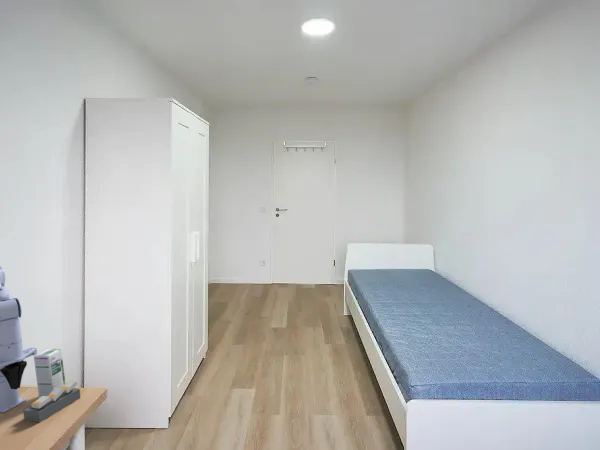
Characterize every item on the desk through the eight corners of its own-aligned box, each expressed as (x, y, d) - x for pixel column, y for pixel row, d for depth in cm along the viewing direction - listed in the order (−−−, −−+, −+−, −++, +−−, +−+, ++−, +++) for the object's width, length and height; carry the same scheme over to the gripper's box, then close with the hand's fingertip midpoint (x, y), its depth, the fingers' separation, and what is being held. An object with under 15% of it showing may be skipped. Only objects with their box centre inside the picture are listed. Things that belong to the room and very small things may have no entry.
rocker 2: (47, 400, 135) (45, 397, 135) (57, 390, 139) (55, 386, 138) (54, 401, 134) (53, 398, 134) (64, 390, 138) (62, 387, 137)
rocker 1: (32, 407, 130) (31, 403, 130) (43, 399, 134) (42, 395, 134) (39, 408, 129) (38, 404, 129) (50, 400, 133) (49, 396, 133)
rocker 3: (60, 392, 140) (59, 388, 139) (70, 383, 143) (69, 380, 143) (67, 393, 139) (66, 389, 138) (77, 384, 142) (76, 381, 142)
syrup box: (54, 399, 143) (49, 355, 141) (38, 398, 144) (33, 355, 143) (66, 391, 148) (62, 348, 147) (51, 390, 150) (46, 348, 148)
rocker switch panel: (24, 419, 131) (22, 407, 131) (65, 395, 145) (64, 384, 145) (39, 422, 129) (38, 410, 129) (80, 397, 143) (79, 386, 143)
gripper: (-5, 352, 119) (1, 401, 120) (42, 334, 133) (47, 378, 134) (-24, 350, 121) (-18, 398, 123) (24, 332, 135) (29, 376, 136)
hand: (15, 388), depth 129 cm, fingers closed
